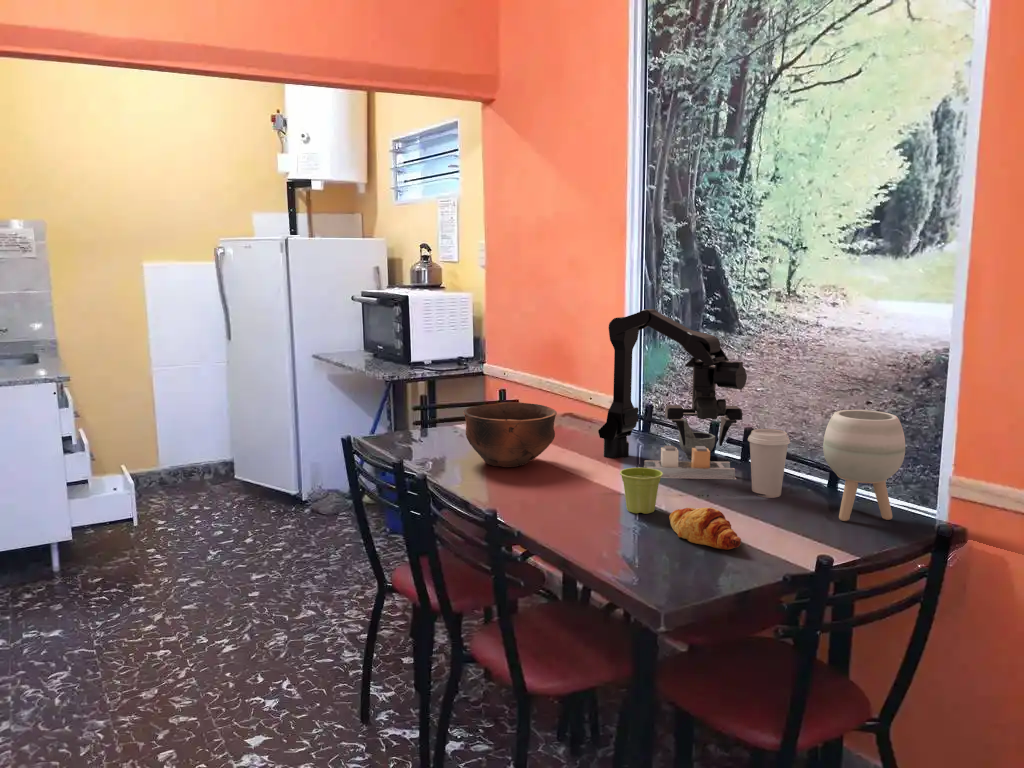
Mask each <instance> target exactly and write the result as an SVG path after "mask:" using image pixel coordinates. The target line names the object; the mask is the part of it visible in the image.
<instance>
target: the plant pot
mask: <svg viewBox="0 0 1024 768" xmlns="http://www.w3.org/2000/svg"><path fill="white" fill-rule="evenodd" d="M619 475H620V476H621V480H622V482H623V489H624V497H625V506H626V510H627V511H628V512H629V513H633V514H639V513H642V514H647V515H648V514H651V513H654V512H655V509H656V503H657V498H658V497H657V496H658V490H659V485H660V482H661V479H662V478H661V477H662V475H663V473H662V472H661V471H659V470H656V469H651V468H644V467H629V468H623V469H621V470H620V471H619Z"/></svg>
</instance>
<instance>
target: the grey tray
mask: <svg viewBox="0 0 1024 768" xmlns="http://www.w3.org/2000/svg"><path fill="white" fill-rule="evenodd" d="M643 462H644V464H643V468H651V469H656V470H659V471H661V472H662V473H663V475H662V477H661V479H693V480H695V479H697V480H699V479H700V480H702V479H703V480H705V479H706V480H737V478H736V469H735V468H734V467H731V462H730V461H715V460H714V461H711V460H710V468H698V467H691V462H692V460H678V467H661V460H650V459H648V460H647V459H646V460H644V461H643Z"/></svg>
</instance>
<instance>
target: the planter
mask: <svg viewBox="0 0 1024 768" xmlns="http://www.w3.org/2000/svg"><path fill="white" fill-rule="evenodd" d="M822 449H823V451H822V452H823V456H824V459H825V461H826V463H827V465H828V467H829V468H830V469H831V470H832V471H833V472H834V474H835V475H836V476H837V477H838V478H840V479H842V480H845V482H844V487H843V492H842V498H841V502H840V508H839V514H838V519H839V520H840V521H842V522H848V521H850V517H851V514H852V511H853V508H854V504H855V499H856V495H857V491H858V487H859V483H860V484H862V483H863V484H872V486H873V489H874V494H875V495H874V496H875V497H876V502H877V505H878V508H879V512H880V517H882V519H883V520H885V521H889V520H892V519H893V511H892V508H891V507H892V506H891V504H890V502H891V501H890V499H889V493H888V488H887V483H886V481H888V479H890V478H891V477H892V476H894V475H895V474H897V472H898V471H899V470H900V468H901V467H902V465H903V463H904V460H905V454H906V439H905V433H904V429H903V426H902V423H901V420H900V419H899V418H898V416H897V415H895V414H892V413H889V412H885V411H878V410H869V409H868V410H867V409H843V410H837V411H835V412H834V413H833V414H832V416H831V417H830V418H829V421H828V423H827V426H826V429H825V432H824V436H823V445H822Z"/></svg>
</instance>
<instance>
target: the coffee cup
mask: <svg viewBox="0 0 1024 768" xmlns="http://www.w3.org/2000/svg"><path fill="white" fill-rule="evenodd" d="M747 437H748V438H747V442H749V453H750V456H749V457H750V474H751V475H750V476H751V491H752V492H754V493H756V495H755V496H756V497H760V498H766V499H767V498H769V499H771V498H772V499H773V498H775V499H776V498H778V497H779V498H780V497H781V495H782V488H783V481H784V473H785V466H786V460H787V459H786V458H787V452H788V446H789V444H790V443H791V441H790V437H789V436H788V433H787V432H786V431H784V430H781V429H774V428H755V429H752V430H751V432H750V433H749V435H748V436H747ZM757 494H758V495H757ZM759 494H760V495H759Z"/></svg>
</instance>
